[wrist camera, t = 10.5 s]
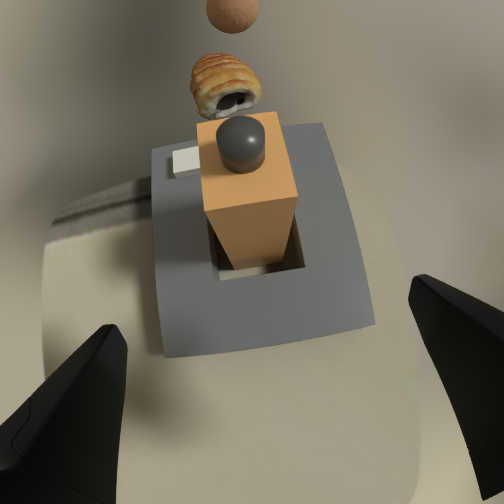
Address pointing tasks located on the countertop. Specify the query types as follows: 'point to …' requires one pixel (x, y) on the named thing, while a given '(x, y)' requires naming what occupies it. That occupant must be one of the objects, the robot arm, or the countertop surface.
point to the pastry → (223, 86)
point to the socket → (260, 286)
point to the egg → (232, 14)
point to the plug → (247, 187)
